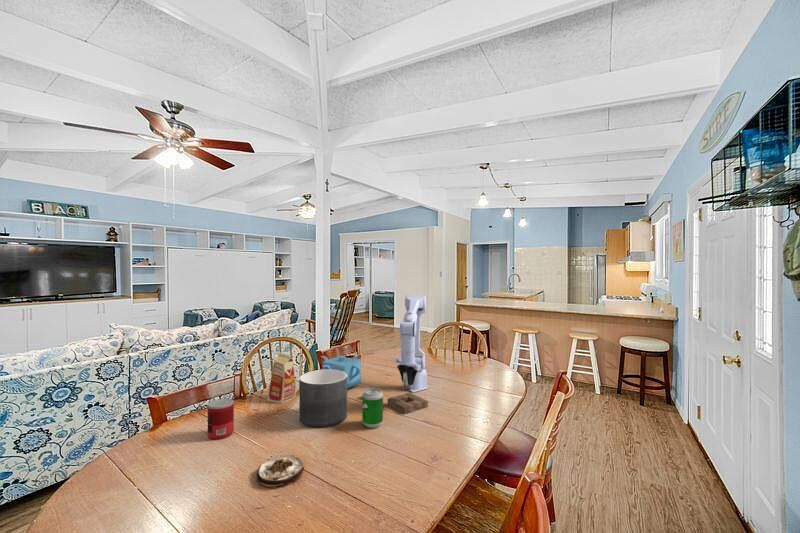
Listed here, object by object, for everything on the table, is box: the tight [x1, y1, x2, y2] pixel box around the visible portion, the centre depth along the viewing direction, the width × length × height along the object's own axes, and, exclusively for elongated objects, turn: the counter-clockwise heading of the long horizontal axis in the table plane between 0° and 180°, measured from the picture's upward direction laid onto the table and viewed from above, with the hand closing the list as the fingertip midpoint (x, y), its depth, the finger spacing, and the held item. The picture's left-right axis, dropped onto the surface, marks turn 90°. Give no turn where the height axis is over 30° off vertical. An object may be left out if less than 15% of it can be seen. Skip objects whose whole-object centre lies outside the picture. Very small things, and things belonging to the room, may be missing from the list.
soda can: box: [361, 388, 384, 429], centre depth 129 cm, size 8×8×12 cm
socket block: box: [387, 392, 429, 415], centre depth 146 cm, size 12×12×2 cm
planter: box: [298, 369, 348, 429], centre depth 134 cm, size 18×18×16 cm
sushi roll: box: [256, 454, 305, 489], centre depth 97 cm, size 15×15×4 cm
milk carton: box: [266, 351, 297, 404], centre depth 153 cm, size 9×9×20 cm
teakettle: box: [320, 354, 362, 390], centre depth 168 cm, size 19×19×15 cm
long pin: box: [402, 371, 411, 392], centre depth 146 cm, size 3×3×7 cm
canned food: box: [207, 398, 235, 441], centre depth 120 cm, size 8×8×11 cm
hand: (407, 383), depth 146 cm, fingers closed on long pin, 3 cm apart
